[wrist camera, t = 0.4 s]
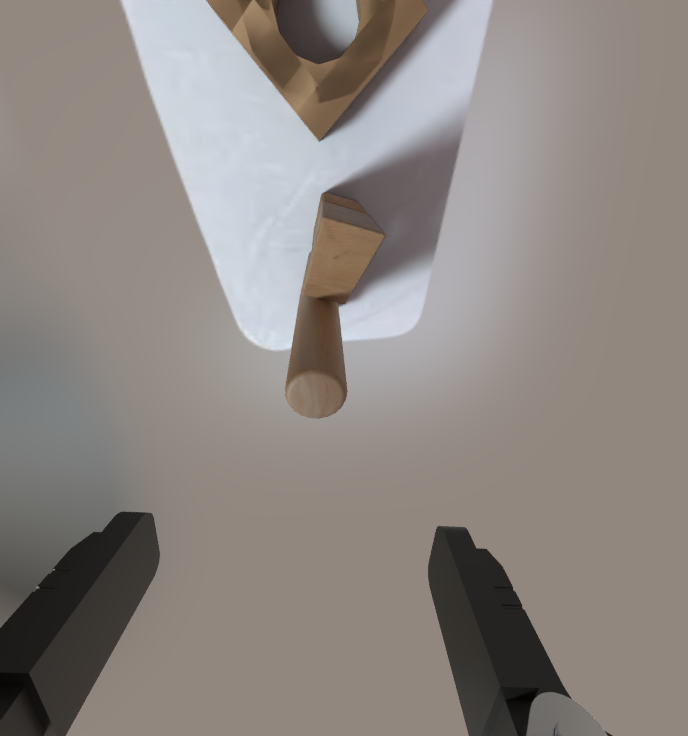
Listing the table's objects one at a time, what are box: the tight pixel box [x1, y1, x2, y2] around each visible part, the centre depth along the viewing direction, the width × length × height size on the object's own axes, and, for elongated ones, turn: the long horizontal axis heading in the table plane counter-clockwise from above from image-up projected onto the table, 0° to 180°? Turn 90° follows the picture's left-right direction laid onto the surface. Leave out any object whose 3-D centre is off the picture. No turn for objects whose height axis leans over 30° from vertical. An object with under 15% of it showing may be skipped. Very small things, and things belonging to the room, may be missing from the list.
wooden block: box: [285, 192, 385, 418], centre depth 24 cm, size 4×11×18 cm, turn 165°
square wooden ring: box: [206, 0, 428, 141], centre depth 22 cm, size 10×10×3 cm
